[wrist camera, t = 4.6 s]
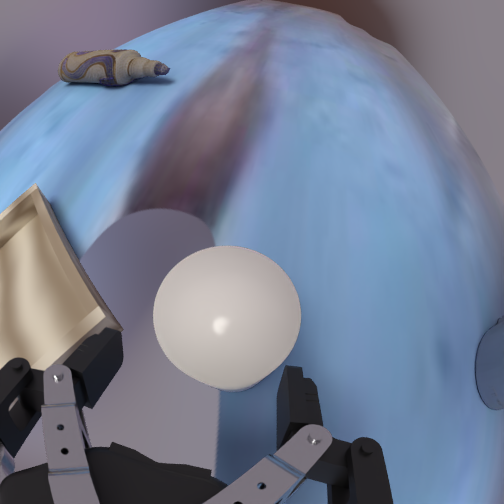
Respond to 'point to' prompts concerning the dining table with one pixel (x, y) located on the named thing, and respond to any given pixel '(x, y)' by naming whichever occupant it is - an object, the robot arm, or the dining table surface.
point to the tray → (43, 288)
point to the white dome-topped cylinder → (227, 317)
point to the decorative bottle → (108, 67)
